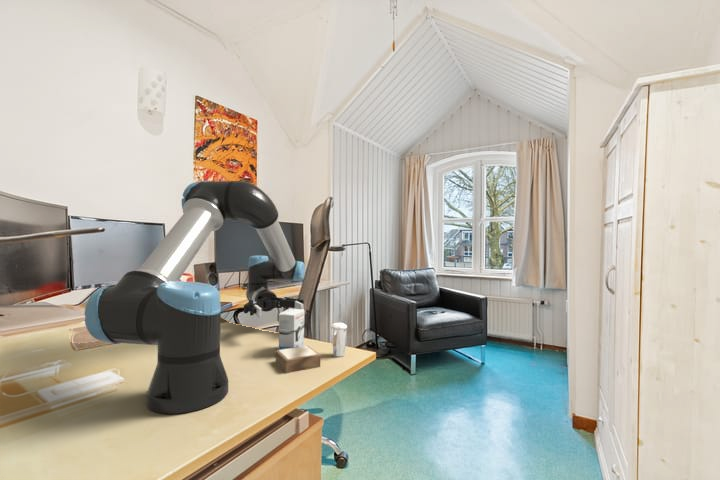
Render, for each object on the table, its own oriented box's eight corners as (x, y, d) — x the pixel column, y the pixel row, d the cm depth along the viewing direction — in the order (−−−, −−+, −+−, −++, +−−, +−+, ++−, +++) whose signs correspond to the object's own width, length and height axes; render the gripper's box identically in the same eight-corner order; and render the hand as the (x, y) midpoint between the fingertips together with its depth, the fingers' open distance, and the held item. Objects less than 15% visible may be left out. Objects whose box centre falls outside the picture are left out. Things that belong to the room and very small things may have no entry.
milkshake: (349, 357, 96) (349, 321, 96) (329, 357, 96) (330, 321, 96) (350, 352, 101) (350, 318, 100) (331, 352, 101) (331, 317, 101)
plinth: (286, 373, 85) (286, 360, 85) (275, 361, 93) (275, 349, 93) (320, 366, 89) (320, 354, 89) (307, 356, 97) (307, 344, 97)
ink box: (294, 357, 96) (294, 314, 96) (277, 355, 97) (277, 313, 97) (305, 347, 105) (305, 308, 105) (289, 346, 106) (290, 308, 106)
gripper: (229, 292, 122) (241, 302, 103) (296, 287, 134) (318, 295, 116) (228, 313, 122) (241, 327, 103) (296, 306, 134) (318, 318, 116)
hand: (282, 310), depth 110 cm, fingers open, 13 cm apart
